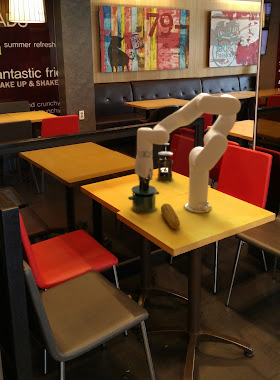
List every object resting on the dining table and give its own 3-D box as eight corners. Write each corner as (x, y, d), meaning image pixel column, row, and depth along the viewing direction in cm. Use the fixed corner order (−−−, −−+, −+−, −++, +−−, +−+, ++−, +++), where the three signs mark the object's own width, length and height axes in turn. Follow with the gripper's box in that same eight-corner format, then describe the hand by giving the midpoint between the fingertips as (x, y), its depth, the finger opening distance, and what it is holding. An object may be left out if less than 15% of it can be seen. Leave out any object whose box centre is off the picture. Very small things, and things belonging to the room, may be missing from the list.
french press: (176, 181, 241) (177, 144, 236) (163, 183, 236) (164, 146, 231) (165, 175, 251) (166, 140, 246) (152, 178, 246) (153, 142, 241)
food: (159, 213, 193) (159, 202, 192) (170, 212, 194) (170, 201, 193) (171, 232, 173) (172, 220, 172) (184, 231, 174) (184, 218, 173)
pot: (164, 209, 198) (164, 193, 196) (135, 216, 189) (135, 200, 187) (151, 202, 207) (151, 186, 205) (123, 208, 198) (123, 192, 197)
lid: (161, 193, 194) (161, 180, 193) (140, 197, 188) (140, 184, 186) (147, 185, 204) (147, 173, 203) (126, 189, 198) (126, 177, 196)
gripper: (129, 150, 196) (129, 185, 200) (147, 158, 183) (146, 195, 187) (142, 148, 200) (141, 183, 204) (160, 156, 187) (159, 192, 191)
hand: (144, 188), depth 196 cm, fingers closed on lid, 2 cm apart
